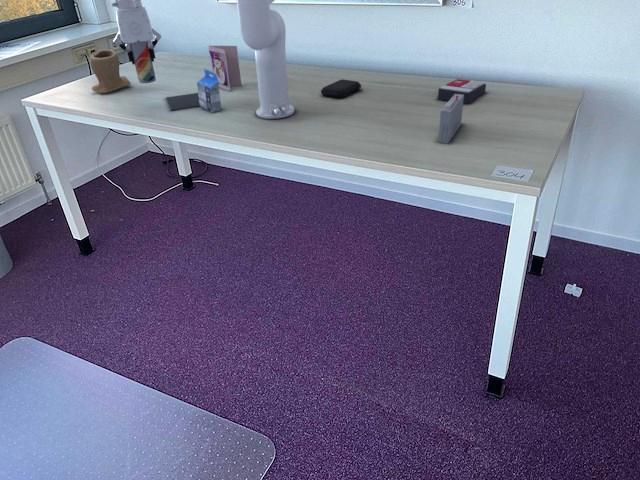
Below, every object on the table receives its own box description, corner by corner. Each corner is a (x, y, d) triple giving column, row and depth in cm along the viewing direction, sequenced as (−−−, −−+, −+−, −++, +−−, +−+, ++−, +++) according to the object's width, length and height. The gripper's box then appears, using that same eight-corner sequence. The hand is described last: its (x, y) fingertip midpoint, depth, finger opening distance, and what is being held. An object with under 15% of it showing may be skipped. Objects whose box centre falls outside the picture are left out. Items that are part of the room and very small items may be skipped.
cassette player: (451, 123, 157) (455, 90, 152) (460, 124, 156) (464, 91, 151) (438, 142, 146) (441, 106, 140) (447, 143, 145) (451, 107, 139)
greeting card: (212, 86, 204) (206, 46, 196) (228, 81, 208) (223, 42, 200) (228, 91, 197) (222, 50, 189) (244, 87, 201) (239, 46, 193)
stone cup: (105, 97, 197) (94, 56, 189) (88, 92, 204) (77, 52, 196) (139, 87, 207) (130, 48, 199) (122, 83, 214) (113, 44, 206)
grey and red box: (486, 81, 180) (469, 90, 169) (485, 94, 182) (467, 104, 171) (457, 77, 185) (438, 86, 175) (455, 89, 187) (437, 99, 177)
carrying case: (343, 100, 181) (365, 89, 191) (343, 91, 179) (365, 81, 189) (318, 96, 186) (341, 85, 196) (318, 87, 185) (341, 77, 195)
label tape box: (199, 106, 182) (193, 70, 175) (209, 103, 184) (204, 68, 177) (212, 112, 176) (206, 76, 169) (222, 109, 178) (217, 73, 171)
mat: (211, 105, 184) (211, 103, 183) (171, 111, 180) (171, 109, 180) (204, 93, 196) (204, 91, 196) (166, 98, 193) (166, 97, 192)
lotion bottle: (151, 83, 176) (136, 20, 165) (136, 83, 177) (120, 20, 166) (159, 79, 181) (145, 17, 170) (144, 79, 182) (129, 17, 171)
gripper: (101, 8, 161) (116, 68, 170) (157, 2, 165) (170, 60, 175) (101, 5, 167) (116, 63, 176) (155, -1, 171) (167, 56, 181)
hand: (143, 61), depth 175 cm, fingers closed on lotion bottle, 5 cm apart
